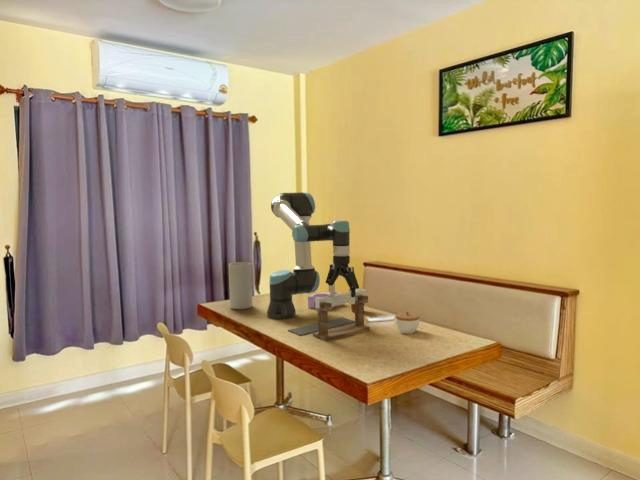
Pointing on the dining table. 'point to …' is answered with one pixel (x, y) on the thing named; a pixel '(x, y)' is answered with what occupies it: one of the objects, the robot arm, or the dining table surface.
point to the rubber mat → (314, 327)
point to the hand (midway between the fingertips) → (341, 301)
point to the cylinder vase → (240, 285)
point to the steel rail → (338, 298)
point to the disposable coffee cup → (354, 304)
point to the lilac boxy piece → (318, 295)
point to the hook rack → (345, 329)
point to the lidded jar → (407, 322)
